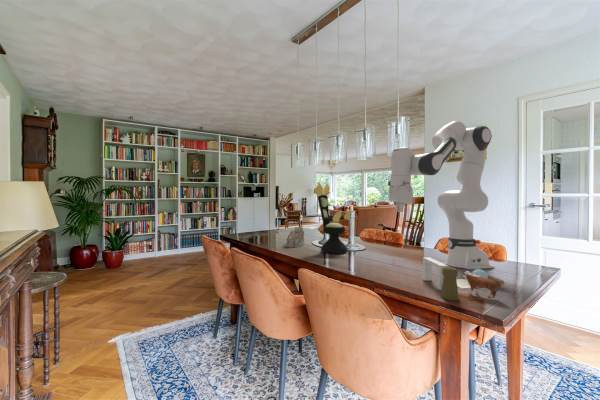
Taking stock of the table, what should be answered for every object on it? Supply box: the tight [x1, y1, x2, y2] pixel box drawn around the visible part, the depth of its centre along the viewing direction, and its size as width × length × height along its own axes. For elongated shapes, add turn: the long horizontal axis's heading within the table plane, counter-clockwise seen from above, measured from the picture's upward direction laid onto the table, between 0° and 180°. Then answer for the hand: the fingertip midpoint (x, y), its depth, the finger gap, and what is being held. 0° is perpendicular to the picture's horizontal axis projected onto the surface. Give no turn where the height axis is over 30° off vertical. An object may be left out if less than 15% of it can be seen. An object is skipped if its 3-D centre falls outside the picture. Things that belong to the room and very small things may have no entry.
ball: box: [471, 269, 489, 278], centre depth 128 cm, size 6×6×6 cm
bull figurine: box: [462, 270, 500, 301], centre depth 114 cm, size 4×13×8 cm, turn 32°
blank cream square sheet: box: [456, 278, 471, 290], centre depth 128 cm, size 12×12×1 cm
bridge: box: [422, 256, 449, 291], centre depth 127 cm, size 3×15×10 cm, turn 3°
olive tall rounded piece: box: [440, 266, 460, 301], centre depth 112 cm, size 6×6×11 cm
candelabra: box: [314, 181, 353, 255], centre depth 194 cm, size 19×22×45 cm
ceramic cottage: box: [284, 224, 306, 248], centre depth 219 cm, size 16×16×15 cm
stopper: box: [487, 273, 505, 290], centre depth 129 cm, size 2×14×3 cm, turn 4°
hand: (400, 211), depth 143 cm, fingers closed
